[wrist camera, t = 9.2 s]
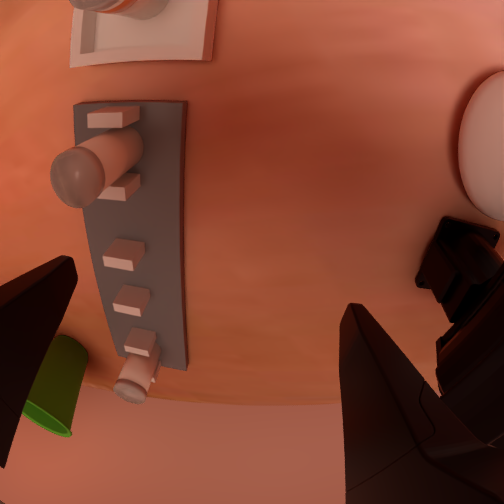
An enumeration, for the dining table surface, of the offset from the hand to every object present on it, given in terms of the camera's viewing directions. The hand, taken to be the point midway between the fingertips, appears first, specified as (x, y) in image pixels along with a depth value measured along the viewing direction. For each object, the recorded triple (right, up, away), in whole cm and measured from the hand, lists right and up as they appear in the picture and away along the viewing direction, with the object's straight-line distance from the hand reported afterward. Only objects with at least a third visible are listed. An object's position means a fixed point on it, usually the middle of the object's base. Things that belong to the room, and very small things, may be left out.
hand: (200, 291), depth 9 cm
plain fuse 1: (-7, +8, +9) cm, 14 cm away
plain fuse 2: (-9, -8, +20) cm, 24 cm away
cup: (-21, -11, +25) cm, 35 cm away
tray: (-5, +17, +4) cm, 18 cm away
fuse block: (-8, 0, +16) cm, 17 cm away
